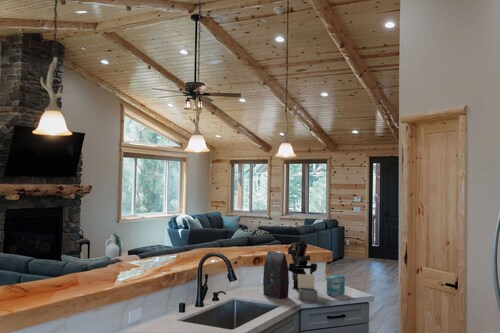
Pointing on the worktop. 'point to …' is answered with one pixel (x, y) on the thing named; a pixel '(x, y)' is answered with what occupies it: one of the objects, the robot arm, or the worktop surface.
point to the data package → (335, 285)
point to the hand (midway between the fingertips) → (304, 278)
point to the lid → (305, 280)
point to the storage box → (307, 294)
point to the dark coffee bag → (276, 275)
